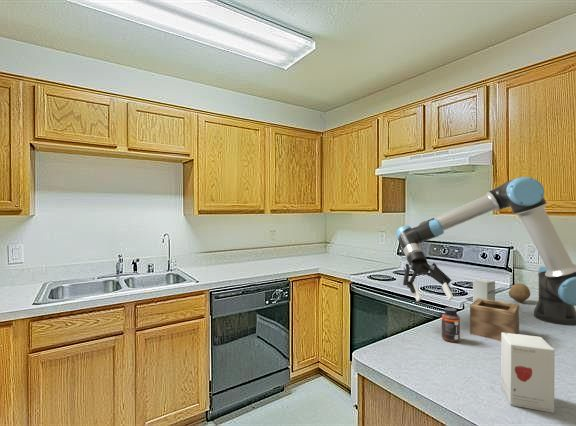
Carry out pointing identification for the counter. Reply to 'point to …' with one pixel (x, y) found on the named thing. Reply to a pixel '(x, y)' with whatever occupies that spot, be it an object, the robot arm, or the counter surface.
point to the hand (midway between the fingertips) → (435, 299)
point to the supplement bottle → (450, 325)
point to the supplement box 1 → (483, 289)
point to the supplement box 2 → (527, 371)
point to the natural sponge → (519, 292)
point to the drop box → (493, 318)
